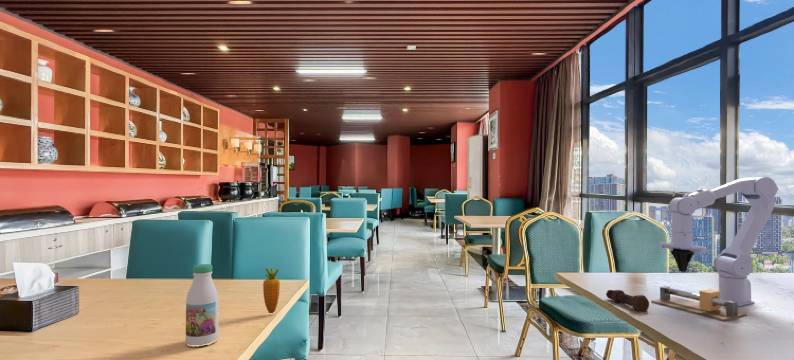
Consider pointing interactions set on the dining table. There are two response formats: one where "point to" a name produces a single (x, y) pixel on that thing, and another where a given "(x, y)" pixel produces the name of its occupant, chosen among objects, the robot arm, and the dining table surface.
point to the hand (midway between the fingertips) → (682, 271)
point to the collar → (709, 299)
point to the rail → (730, 305)
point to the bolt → (629, 300)
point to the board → (696, 308)
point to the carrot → (271, 290)
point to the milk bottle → (202, 308)
